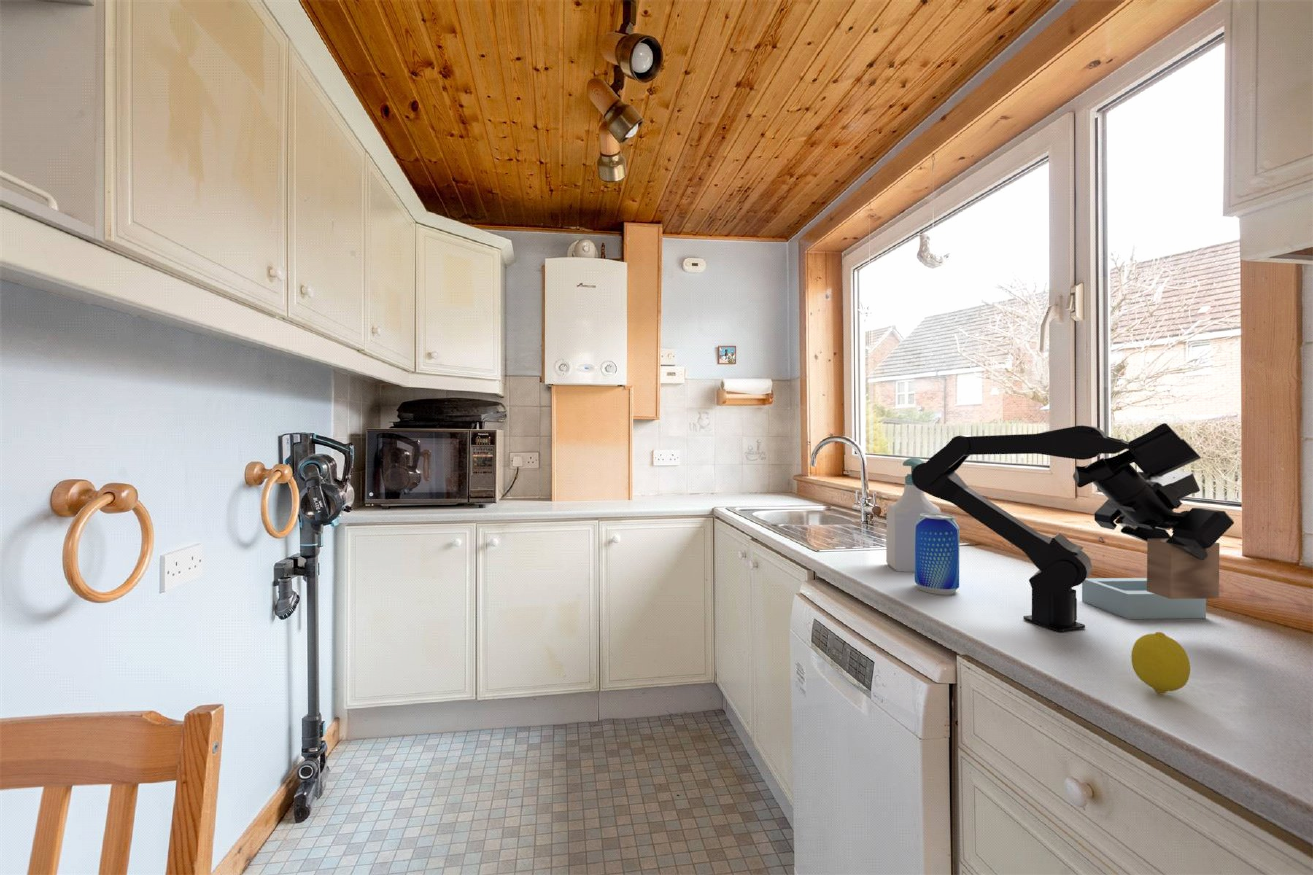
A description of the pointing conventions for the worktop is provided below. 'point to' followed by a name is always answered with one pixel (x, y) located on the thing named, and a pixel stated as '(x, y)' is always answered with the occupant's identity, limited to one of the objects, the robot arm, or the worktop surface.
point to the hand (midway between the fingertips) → (1190, 554)
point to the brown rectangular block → (1181, 571)
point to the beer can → (937, 553)
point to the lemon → (1160, 662)
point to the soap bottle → (905, 522)
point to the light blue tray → (1138, 600)
